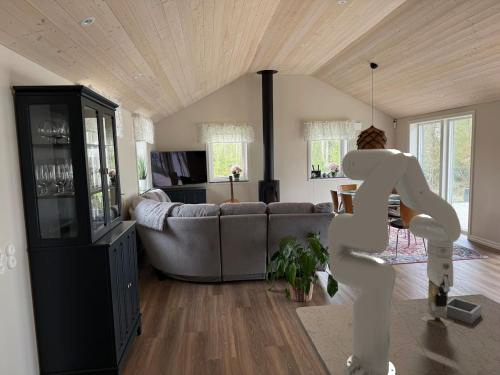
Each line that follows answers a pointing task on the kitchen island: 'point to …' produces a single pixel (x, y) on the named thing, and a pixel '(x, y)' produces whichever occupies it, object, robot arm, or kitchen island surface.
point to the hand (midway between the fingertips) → (437, 302)
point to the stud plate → (437, 321)
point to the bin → (463, 310)
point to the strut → (432, 308)
